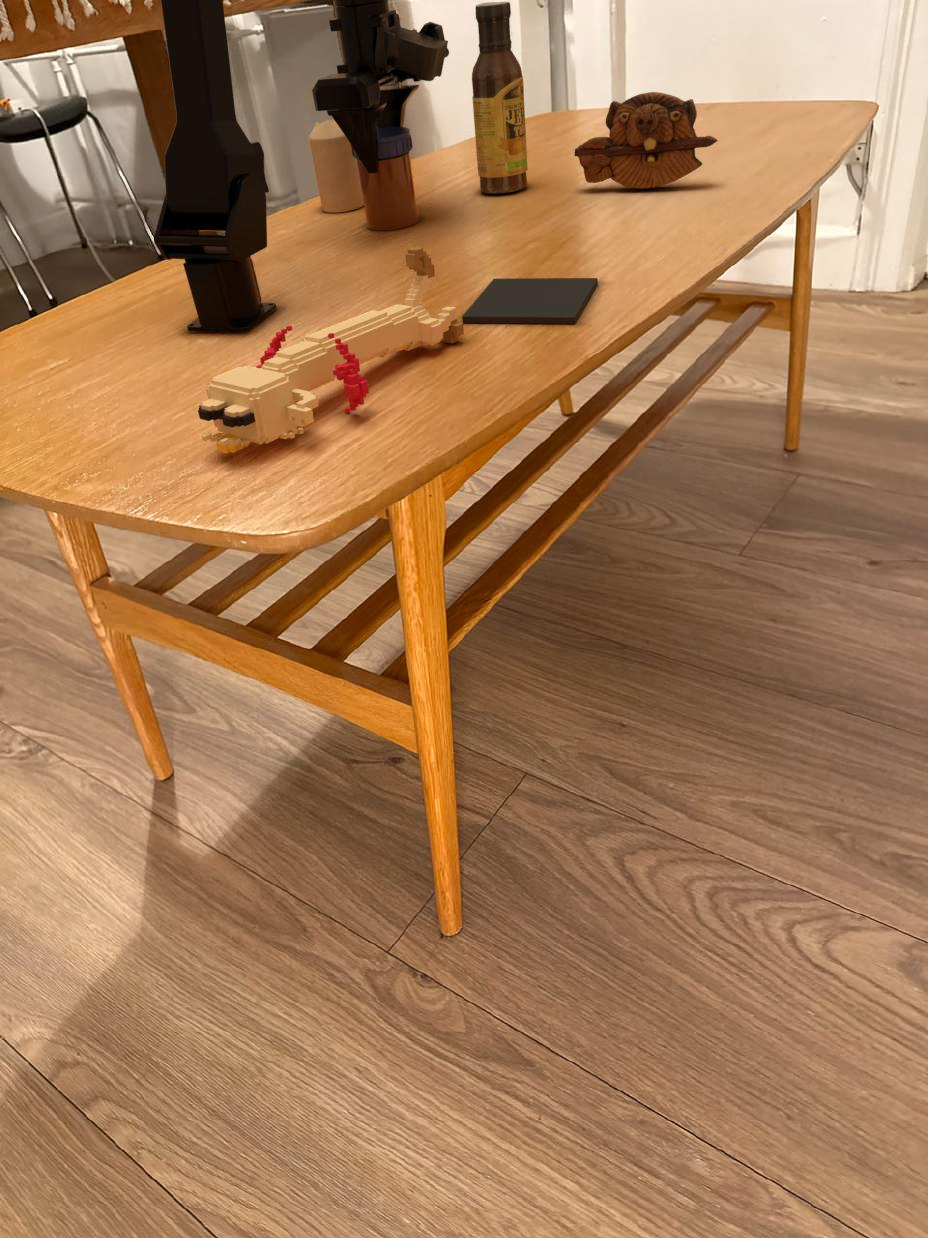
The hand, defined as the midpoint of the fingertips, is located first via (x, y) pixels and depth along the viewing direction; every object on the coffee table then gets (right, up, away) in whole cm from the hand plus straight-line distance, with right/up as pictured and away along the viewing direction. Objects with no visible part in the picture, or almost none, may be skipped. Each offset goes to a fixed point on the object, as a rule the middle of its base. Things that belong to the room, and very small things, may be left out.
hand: (384, 165), depth 105 cm
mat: (+15, -24, -23) cm, 37 cm away
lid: (0, +2, -2) cm, 3 cm away
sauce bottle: (+14, +2, +11) cm, 18 cm away
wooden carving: (+31, -1, +4) cm, 31 cm away
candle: (-6, +1, +13) cm, 14 cm away
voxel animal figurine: (0, -35, -35) cm, 49 cm away
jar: (+1, -5, +4) cm, 6 cm away
